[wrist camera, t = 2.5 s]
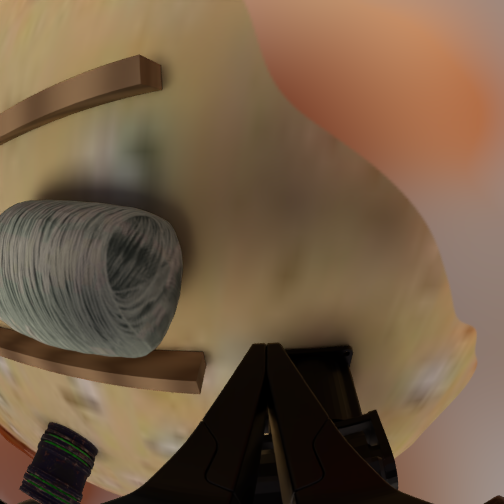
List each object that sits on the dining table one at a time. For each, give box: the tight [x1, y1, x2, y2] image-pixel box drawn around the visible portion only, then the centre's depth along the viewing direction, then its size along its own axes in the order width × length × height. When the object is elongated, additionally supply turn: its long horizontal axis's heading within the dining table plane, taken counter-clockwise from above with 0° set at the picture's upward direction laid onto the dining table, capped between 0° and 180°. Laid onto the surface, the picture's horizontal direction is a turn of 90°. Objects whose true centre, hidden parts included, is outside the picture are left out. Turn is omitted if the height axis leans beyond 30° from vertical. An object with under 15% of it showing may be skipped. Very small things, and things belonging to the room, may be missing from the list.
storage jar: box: [20, 422, 98, 504], centre depth 26 cm, size 10×10×15 cm
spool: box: [0, 200, 183, 358], centre depth 14 cm, size 14×10×10 cm
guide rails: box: [0, 55, 206, 394], centre depth 16 cm, size 26×21×3 cm
